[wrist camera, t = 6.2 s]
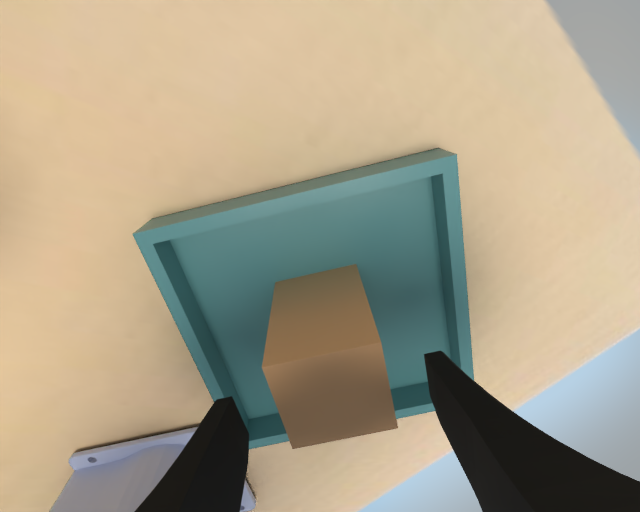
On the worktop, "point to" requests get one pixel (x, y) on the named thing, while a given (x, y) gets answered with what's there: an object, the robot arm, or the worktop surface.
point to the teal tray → (316, 256)
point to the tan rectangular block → (326, 359)
